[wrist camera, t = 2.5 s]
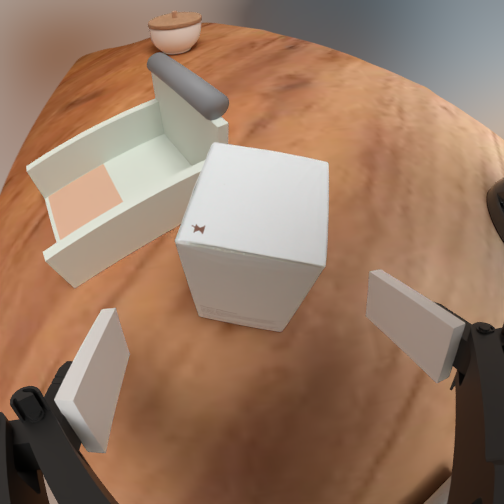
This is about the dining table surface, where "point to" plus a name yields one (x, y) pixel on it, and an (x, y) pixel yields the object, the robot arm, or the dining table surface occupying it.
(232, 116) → the dining table surface
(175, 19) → the lidded jar
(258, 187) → the supplement box
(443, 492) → the ceramic mug
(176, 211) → the tray
